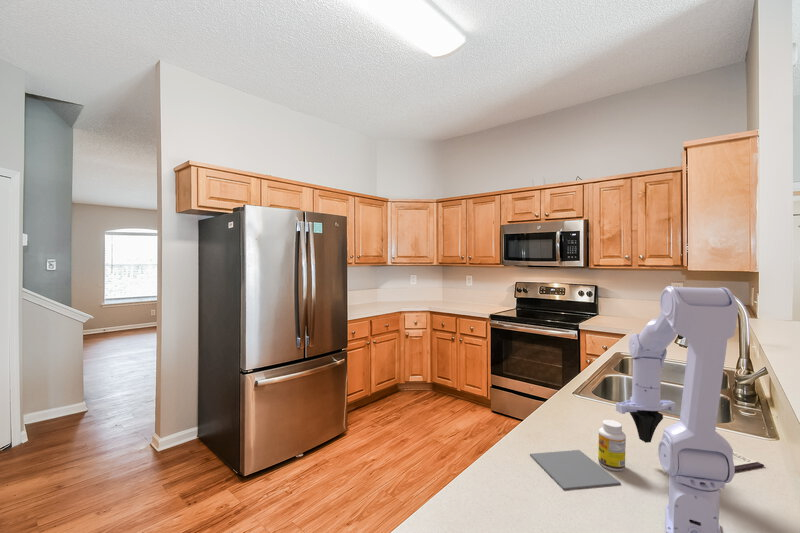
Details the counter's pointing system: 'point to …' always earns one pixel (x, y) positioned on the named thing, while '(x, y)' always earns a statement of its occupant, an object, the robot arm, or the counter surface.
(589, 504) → the counter surface
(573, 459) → the mat
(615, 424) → the supplement bottle
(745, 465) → the chocolate bar
